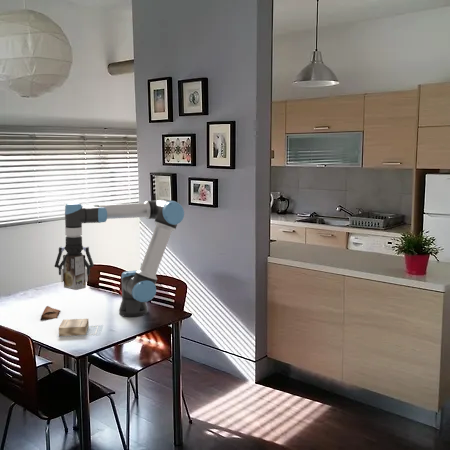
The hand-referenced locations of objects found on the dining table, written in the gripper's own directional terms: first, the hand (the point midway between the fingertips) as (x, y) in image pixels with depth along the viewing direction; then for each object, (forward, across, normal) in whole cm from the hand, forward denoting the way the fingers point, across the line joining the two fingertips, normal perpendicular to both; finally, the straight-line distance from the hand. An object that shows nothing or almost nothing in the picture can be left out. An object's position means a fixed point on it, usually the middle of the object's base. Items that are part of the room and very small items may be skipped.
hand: (74, 281), depth 241 cm
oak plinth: (+24, 0, +4) cm, 24 cm away
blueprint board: (+24, -3, +3) cm, 25 cm away
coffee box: (+3, 0, 0) cm, 3 cm away
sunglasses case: (+25, +17, -24) cm, 39 cm away
